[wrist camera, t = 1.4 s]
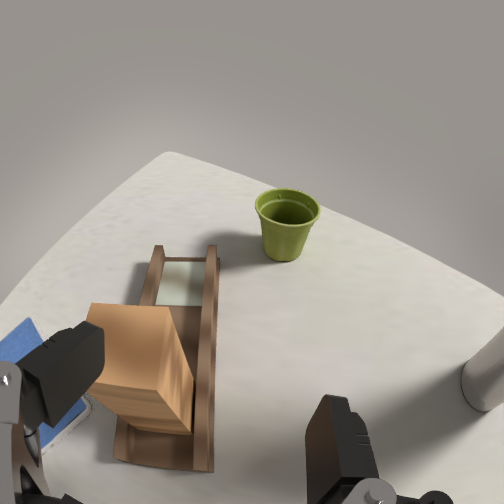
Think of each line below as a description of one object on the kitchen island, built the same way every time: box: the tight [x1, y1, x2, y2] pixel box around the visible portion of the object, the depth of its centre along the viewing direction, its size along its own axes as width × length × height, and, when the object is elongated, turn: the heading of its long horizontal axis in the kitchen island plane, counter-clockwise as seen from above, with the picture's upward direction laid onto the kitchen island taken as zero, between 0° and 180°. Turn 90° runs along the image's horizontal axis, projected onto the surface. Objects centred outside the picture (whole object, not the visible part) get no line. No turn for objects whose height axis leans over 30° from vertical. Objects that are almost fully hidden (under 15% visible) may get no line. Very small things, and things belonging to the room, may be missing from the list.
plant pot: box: [255, 188, 321, 261], centre depth 44 cm, size 9×9×9 cm
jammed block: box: [86, 303, 196, 436], centre depth 22 cm, size 6×6×15 cm
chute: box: [113, 245, 220, 472], centre depth 32 cm, size 30×10×4 cm, turn 2°
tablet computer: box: [0, 317, 92, 456], centre depth 27 cm, size 19×13×1 cm, turn 53°
